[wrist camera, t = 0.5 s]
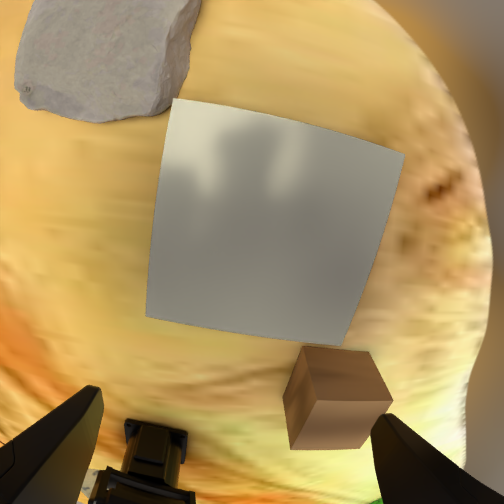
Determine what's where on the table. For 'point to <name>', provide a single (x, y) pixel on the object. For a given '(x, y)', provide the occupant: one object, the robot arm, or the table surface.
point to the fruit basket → (378, 502)
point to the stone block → (104, 57)
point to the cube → (333, 399)
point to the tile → (265, 223)
